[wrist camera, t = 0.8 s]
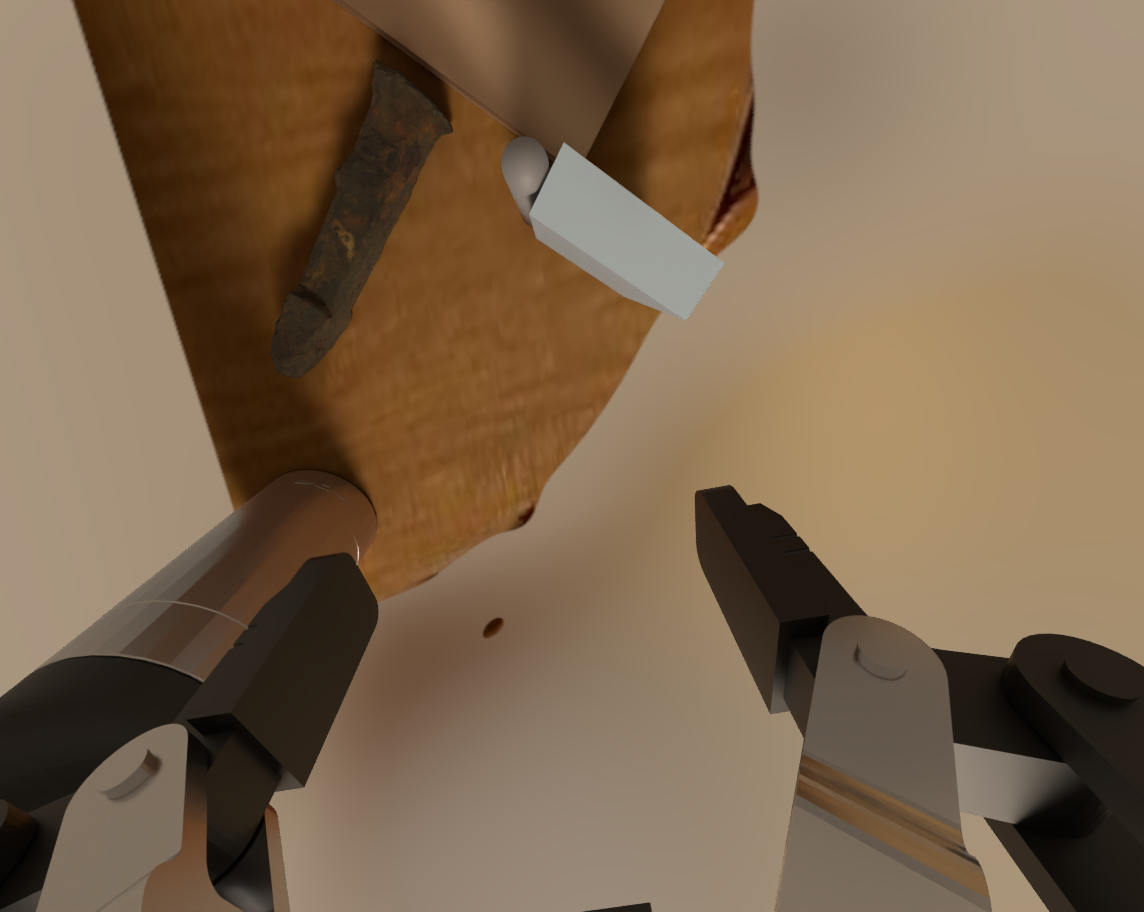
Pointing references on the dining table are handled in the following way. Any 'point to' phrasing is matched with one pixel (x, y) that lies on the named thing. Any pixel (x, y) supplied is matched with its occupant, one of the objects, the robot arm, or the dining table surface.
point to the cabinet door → (607, 229)
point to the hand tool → (358, 218)
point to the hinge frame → (523, 56)
